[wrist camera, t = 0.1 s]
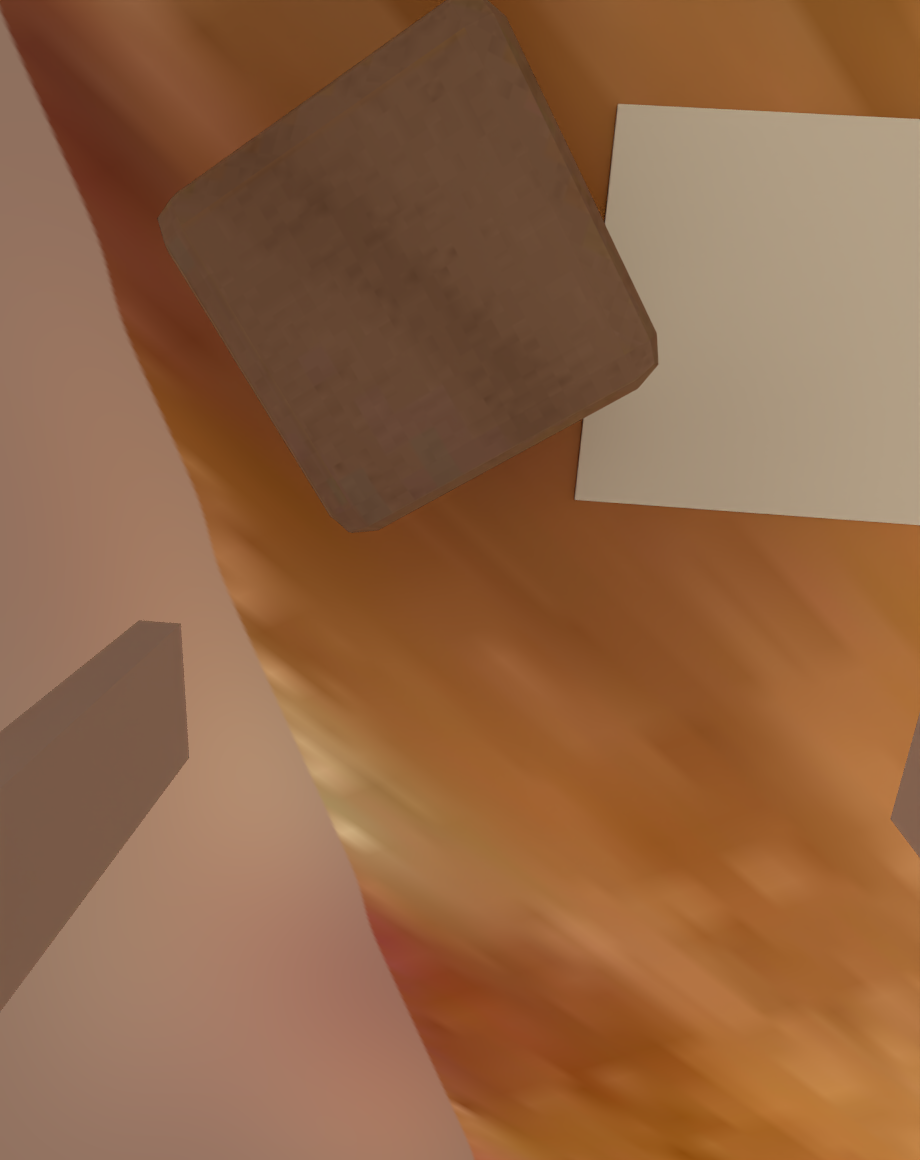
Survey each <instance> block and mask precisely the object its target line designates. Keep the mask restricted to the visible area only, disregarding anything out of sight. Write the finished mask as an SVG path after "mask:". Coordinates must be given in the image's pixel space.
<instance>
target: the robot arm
mask: <svg viewBox="0 0 920 1160" xmlns="http://www.w3.org/2000/svg"><path fill="white" fill-rule="evenodd" d="M188 758H189V750H188V734H187V718H186V702H185V685H184V669H183V654H182V638H181V624H177V623H164V622H152V621H138V622H137V623H135V624H134V625H133V626H132V627H130V628H129V629H128V630H127V631H125V632H124V633H123V634H122V635H120V636H119V637H118V638H117V639H115V640H114V641H113V642H112V643H111V644H109V645H108V646H107V647H106V648H104V649H103V650H102V651H100V652H99V653H98V654H97V655H95V656H94V657H93V658H92V659H90V661H88V662H87V663H86V664H84V665H83V666H82V667H80V668H79V669H78V670H77V671H75V672H74V673H73V674H72V675H70V676H69V677H68V678H67V679H65V680H64V681H63V682H62V683H60V684H59V685H58V686H57V687H55V688H54V689H53V690H52V691H50V692H49V693H48V694H47V695H46V696H44V697H43V698H42V699H41V700H39V701H38V702H37V703H36V704H34V705H33V706H32V707H31V708H29V709H28V710H27V711H26V712H24V713H23V714H22V715H21V716H19V717H18V718H17V719H16V720H14V721H13V722H12V723H11V724H9V725H8V726H7V727H6V728H4V729H3V730H2V731H1V732H0V1011H1V1010H2V1009H3V1007H4V1006H5V1004H6V1003H7V1002H8V1001H9V999H10V998H11V997H12V995H13V994H14V992H15V991H16V990H17V988H18V987H19V986H20V985H21V983H22V981H23V980H24V979H25V978H26V976H27V975H28V974H29V972H30V971H31V970H32V968H33V967H34V966H35V964H36V963H37V962H38V960H39V959H40V958H41V956H42V955H43V954H44V952H45V951H46V949H47V948H48V947H49V945H50V944H51V943H52V941H53V940H54V939H55V937H56V936H57V935H58V933H59V932H60V931H61V929H62V928H63V927H64V925H65V924H66V923H67V921H68V920H69V919H70V917H71V916H72V915H73V913H74V912H75V910H76V909H77V908H78V906H79V905H80V904H81V902H82V901H83V900H84V898H85V897H86V896H87V894H88V893H89V892H90V890H91V889H92V888H93V886H94V885H95V884H96V882H97V881H98V879H99V878H100V877H101V875H102V874H103V873H104V871H105V870H106V869H107V867H108V866H109V865H110V863H111V862H112V861H113V859H114V858H115V857H116V855H117V854H118V853H119V851H120V850H121V849H122V847H123V846H124V844H125V843H126V842H127V840H128V839H129V838H130V836H131V835H132V834H133V832H134V831H135V830H136V828H137V827H138V826H139V824H140V823H141V822H142V820H143V819H144V818H145V816H146V815H147V814H148V812H149V811H150V809H151V808H152V807H153V805H154V804H155V803H156V801H157V800H158V799H159V797H160V796H161V795H162V793H163V792H164V791H165V789H166V788H167V787H168V785H169V784H170V783H171V781H172V780H173V779H174V777H175V776H176V775H177V773H178V772H179V770H180V769H181V768H182V766H183V765H184V764H185V762H186V761H187V760H188ZM891 820H892V821H893V823H894V824H895V825H896V827H897V828H898V829H899V831H900V832H901V833H902V835H903V836H904V837H905V839H906V840H907V841H908V843H909V844H910V845H911V847H912V848H913V849H914V851H915V852H916V853H917V855H918V856H919V857H920V714H919V718H918V721H917V725H916V729H915V732H914V736H913V740H912V743H911V747H910V750H909V754H908V758H907V761H906V765H905V768H904V772H903V776H902V779H901V783H900V787H899V790H898V794H897V797H896V801H895V805H894V808H893V812H892V816H891Z"/></svg>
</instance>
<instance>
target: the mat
mask: <svg viewBox="0 0 920 1160" xmlns="http://www.w3.org/2000/svg"><path fill="white" fill-rule="evenodd" d="M605 225H606V228H607V230H608V232H609V234H610V236H611V238H612V240H613V242H614V244H615V246H616V249H617V251H618V253H619V255H620V257H621V259H622V261H623V263H624V265H625V267H626V270H627V272H628V274H629V276H630V278H631V280H632V282H633V284H634V286H635V288H636V291H637V293H638V295H639V297H640V299H641V301H642V303H643V305H644V307H645V309H646V312H647V314H648V316H649V318H650V320H651V322H652V324H653V326H654V328H655V330H656V333H657V345H658V366H657V367H656V368H655V369H654V370H653V372H652V373H651V374H650V375H649V376H648V377H647V379H646V380H645V381H644V382H643V383H642V385H641V386H640V387H639V388H638V389H637V390H635V391H633V392H631V393H629V394H627V395H625V396H624V397H622V398H620V399H618V400H616V401H614V402H613V403H611V404H609V405H607V406H605V407H603V408H602V409H600V410H598V411H596V412H594V413H592V414H591V415H589V416H587V417H585V418H583V424H582V433H581V442H580V451H579V460H578V470H577V479H576V488H575V497H574V499H575V500H584V501H598V502H612V503H625V504H639V505H652V506H666V507H680V508H693V509H707V510H720V511H734V512H748V513H761V514H775V515H788V516H802V517H816V518H829V519H843V520H857V521H870V522H884V523H897V524H911V525H920V119H905V118H885V117H866V116H846V115H827V114H807V113H787V112H768V111H748V110H729V109H709V108H690V107H670V106H650V105H631V104H618V106H617V113H616V122H615V131H614V140H613V149H612V158H611V168H610V177H609V186H608V195H607V204H606V213H605Z"/></svg>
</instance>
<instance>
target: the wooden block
mask: <svg viewBox="0 0 920 1160" xmlns="http://www.w3.org/2000/svg"><path fill="white" fill-rule="evenodd" d="M157 219H158V222H159V226H160V229H161V233H162V236H163V240H164V243H165V245H166V248H167V250H168V252H169V254H170V255H171V257H172V259H173V260H174V262H175V264H176V265H177V267H178V269H179V270H180V272H181V273H182V275H183V277H184V278H185V280H186V282H187V283H188V285H189V287H190V288H191V290H192V291H193V293H194V295H195V296H196V298H197V300H198V301H199V303H200V304H201V306H202V308H203V309H204V311H205V313H206V314H207V316H208V318H209V319H210V321H211V322H212V324H213V326H214V327H215V329H216V331H217V332H218V334H219V335H220V337H221V339H222V340H223V342H224V344H225V345H226V347H227V349H228V350H229V352H230V353H231V355H232V357H233V358H234V360H235V362H236V363H237V365H238V367H239V368H240V370H241V371H242V373H243V375H244V376H245V378H246V380H247V381H248V383H249V384H250V386H251V388H252V389H253V391H254V393H255V394H256V396H257V398H258V399H259V401H260V402H261V404H262V406H263V407H264V409H265V411H266V412H267V414H268V416H269V417H270V419H271V420H272V422H273V424H274V425H275V427H276V429H277V430H278V432H279V433H280V435H281V437H282V438H283V440H284V442H285V443H286V445H287V447H288V448H289V450H290V451H291V453H292V455H293V456H294V458H295V460H296V461H297V463H298V464H299V466H300V468H301V469H302V471H303V473H304V474H305V476H306V478H307V479H308V481H309V482H310V484H311V486H312V487H313V489H314V491H315V492H316V494H317V496H318V497H319V499H320V500H321V502H322V504H323V505H324V507H325V509H326V510H327V512H328V513H329V515H330V516H331V517H332V518H333V519H335V520H336V521H337V522H338V523H339V524H341V525H342V526H343V527H344V528H345V529H346V530H347V531H348V532H351V533H354V532H364V531H375V530H379V529H381V528H383V527H385V526H387V525H388V524H390V523H392V522H394V521H396V520H398V519H399V518H401V517H403V516H405V515H407V514H409V513H410V512H412V511H414V510H416V509H418V508H420V507H421V506H423V505H425V504H427V503H429V502H431V501H433V500H434V499H436V498H438V497H440V496H442V495H444V494H445V493H447V492H449V491H451V490H453V489H455V488H456V487H458V486H460V485H462V484H464V483H466V482H467V481H469V480H471V479H473V478H475V477H477V476H478V475H480V474H482V473H484V472H486V471H488V470H489V469H491V468H493V467H495V466H497V465H499V464H501V463H502V462H504V461H506V460H508V459H510V458H512V457H513V456H515V455H517V454H519V453H521V452H523V451H524V450H526V449H528V448H530V447H532V446H534V445H535V444H537V443H539V442H541V441H543V440H545V439H546V438H548V437H550V436H552V435H554V434H556V433H557V432H559V431H561V430H563V429H565V428H567V427H569V426H570V425H572V424H574V423H576V422H578V421H580V420H581V419H583V418H585V417H587V416H589V415H591V414H592V413H594V412H596V411H598V410H600V409H602V408H603V407H605V406H607V405H609V404H611V403H613V402H614V401H616V400H618V399H620V398H622V397H624V396H625V395H627V394H629V393H631V392H633V391H635V390H637V389H638V388H639V387H640V386H641V385H642V383H643V382H644V381H645V380H646V379H647V377H648V376H649V375H650V374H651V373H652V372H653V370H654V369H655V368H656V367H657V366H658V345H657V333H656V330H655V328H654V326H653V324H652V322H651V320H650V318H649V316H648V314H647V312H646V309H645V307H644V305H643V303H642V301H641V299H640V297H639V295H638V293H637V291H636V288H635V286H634V284H633V282H632V280H631V278H630V276H629V274H628V272H627V270H626V267H625V265H624V263H623V261H622V259H621V257H620V255H619V253H618V251H617V249H616V246H615V244H614V242H613V240H612V238H611V236H610V234H609V232H608V230H607V228H606V225H605V223H604V221H603V219H602V217H601V215H600V213H599V211H598V209H597V207H596V204H595V202H594V200H593V198H592V196H591V194H590V192H589V190H588V188H587V186H586V183H585V181H584V179H583V177H582V175H581V173H580V171H579V169H578V167H577V165H576V162H575V160H574V158H573V156H572V154H571V152H570V150H569V148H568V146H567V144H566V141H565V139H564V137H563V135H562V133H561V131H560V129H559V127H558V125H557V123H556V120H555V118H554V116H553V114H552V112H551V110H550V108H549V106H548V104H547V102H546V99H545V97H544V95H543V93H542V91H541V89H540V87H539V85H538V83H537V81H536V78H535V76H534V74H533V72H532V70H531V68H530V66H529V64H528V62H527V60H526V57H525V55H524V53H523V51H522V49H521V47H520V45H519V43H518V41H517V39H516V36H515V34H514V32H513V30H512V28H511V26H510V24H509V22H508V20H507V18H506V16H505V15H504V14H503V13H501V12H500V11H499V10H498V9H497V8H496V7H495V6H494V5H492V4H491V3H490V2H489V1H488V0H446V1H445V2H443V3H442V4H440V5H439V6H438V7H436V8H435V9H433V10H432V11H431V12H429V13H428V14H426V15H425V16H424V17H422V18H421V19H419V20H418V21H417V22H415V23H414V24H412V25H411V26H410V27H408V28H407V29H405V30H404V31H403V32H401V33H400V34H398V35H397V36H396V37H394V38H393V39H391V40H390V41H389V42H387V43H386V44H384V45H383V46H381V47H380V48H379V49H377V50H376V51H374V52H373V53H372V54H370V55H369V56H367V57H366V58H365V59H363V60H362V61H360V62H359V63H358V64H356V65H355V66H353V67H352V68H351V69H349V70H348V71H346V72H345V73H344V74H342V75H341V76H339V77H338V78H337V79H335V80H334V81H332V82H331V83H330V84H328V85H327V86H325V87H324V88H323V89H321V90H320V91H318V92H317V93H316V94H314V95H313V96H311V97H310V98H309V99H307V100H306V101H304V102H303V103H302V104H300V105H299V106H297V107H296V108H295V109H293V110H292V111H290V112H289V113H288V114H286V115H285V116H283V117H282V118H281V119H279V120H278V121H276V122H275V123H274V124H272V125H271V126H269V127H268V128H267V129H265V130H264V131H262V132H261V133H260V134H258V135H257V136H255V137H254V138H253V139H251V140H250V141H248V142H247V143H246V144H244V145H243V146H241V147H240V148H239V149H237V150H236V151H234V152H233V153H232V154H230V155H229V156H227V157H226V158H225V159H223V160H222V161H220V162H219V163H218V164H216V165H215V166H213V167H212V168H211V169H209V170H208V171H206V172H205V173H204V174H202V175H201V176H199V177H198V178H197V179H195V180H194V181H192V182H191V183H190V184H188V185H187V186H185V187H184V188H183V189H181V190H180V191H178V192H177V193H176V194H175V195H174V196H173V197H172V198H171V199H170V201H169V202H168V204H167V205H166V207H165V208H164V209H163V211H162V212H161V214H160V215H159V217H158V218H157Z"/></svg>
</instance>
